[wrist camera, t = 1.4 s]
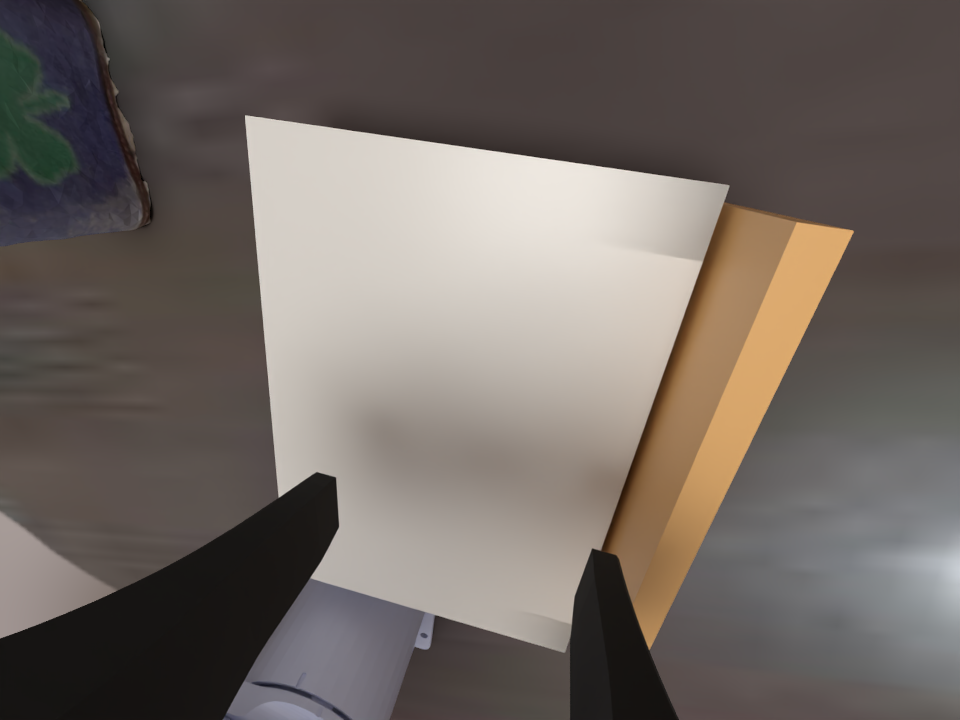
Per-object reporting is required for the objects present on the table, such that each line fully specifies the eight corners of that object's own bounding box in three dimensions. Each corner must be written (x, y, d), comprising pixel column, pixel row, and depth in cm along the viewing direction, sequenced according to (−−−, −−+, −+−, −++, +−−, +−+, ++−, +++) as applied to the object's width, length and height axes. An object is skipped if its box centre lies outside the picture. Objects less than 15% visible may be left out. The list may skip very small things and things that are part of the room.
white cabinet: (567, 563, 24) (564, 652, 20) (335, 501, 26) (285, 570, 22) (686, 181, 16) (730, 185, 11) (330, 129, 17) (244, 115, 13)
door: (592, 572, 23) (599, 751, 16) (574, 567, 23) (573, 743, 16) (723, 202, 15) (854, 230, 8) (693, 197, 15) (796, 222, 8)
